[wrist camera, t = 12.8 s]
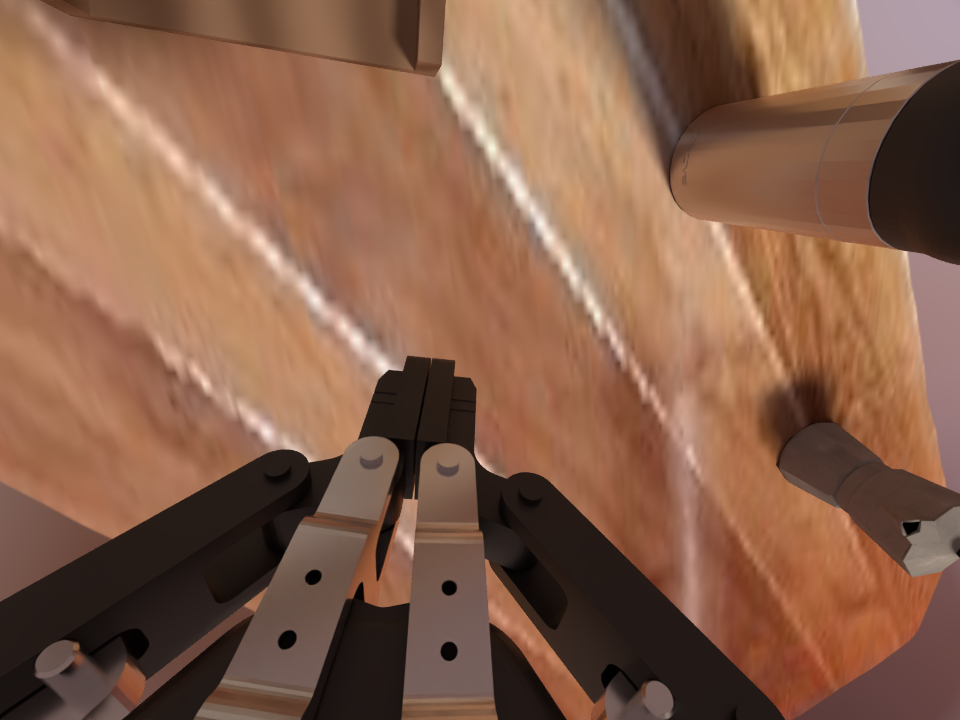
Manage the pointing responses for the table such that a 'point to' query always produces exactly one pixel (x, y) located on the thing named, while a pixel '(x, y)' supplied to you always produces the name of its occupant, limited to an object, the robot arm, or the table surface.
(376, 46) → the bay
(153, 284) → the table surface
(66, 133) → the table surface
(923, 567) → the coffeepot
